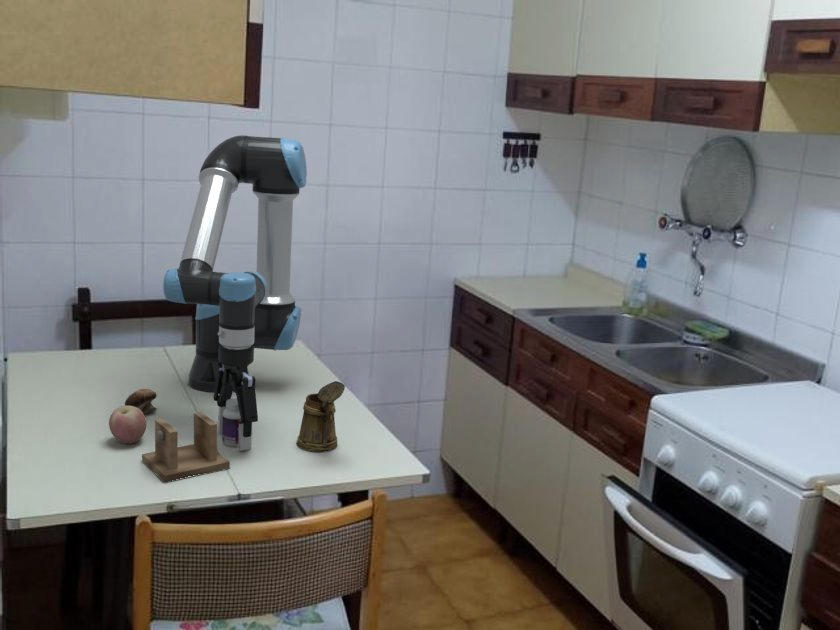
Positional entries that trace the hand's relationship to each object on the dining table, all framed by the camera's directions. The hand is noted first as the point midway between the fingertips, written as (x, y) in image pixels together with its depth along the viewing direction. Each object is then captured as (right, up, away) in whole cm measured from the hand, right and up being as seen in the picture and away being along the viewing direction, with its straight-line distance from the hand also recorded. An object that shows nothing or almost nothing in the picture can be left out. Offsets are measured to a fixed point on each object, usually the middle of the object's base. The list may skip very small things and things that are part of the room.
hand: (234, 441), depth 197 cm
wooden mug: (+19, -2, 0) cm, 19 cm away
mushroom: (-25, +5, +14) cm, 29 cm away
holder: (-7, -3, -13) cm, 15 cm away
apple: (-22, 0, -4) cm, 23 cm away
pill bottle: (0, 0, 0) cm, 0 cm away
